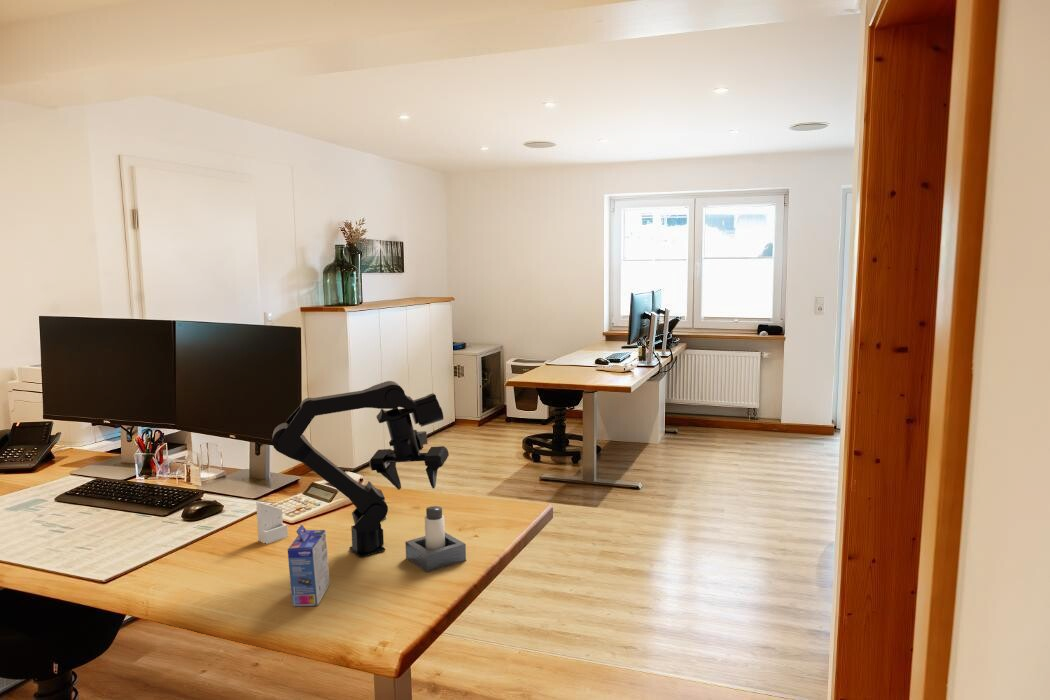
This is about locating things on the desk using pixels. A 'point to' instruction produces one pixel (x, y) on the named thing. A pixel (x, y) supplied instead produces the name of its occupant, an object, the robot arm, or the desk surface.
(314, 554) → the ink cartridge box
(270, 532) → the white wall holder
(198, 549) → the desk surface
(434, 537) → the white bottle
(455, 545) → the collar
